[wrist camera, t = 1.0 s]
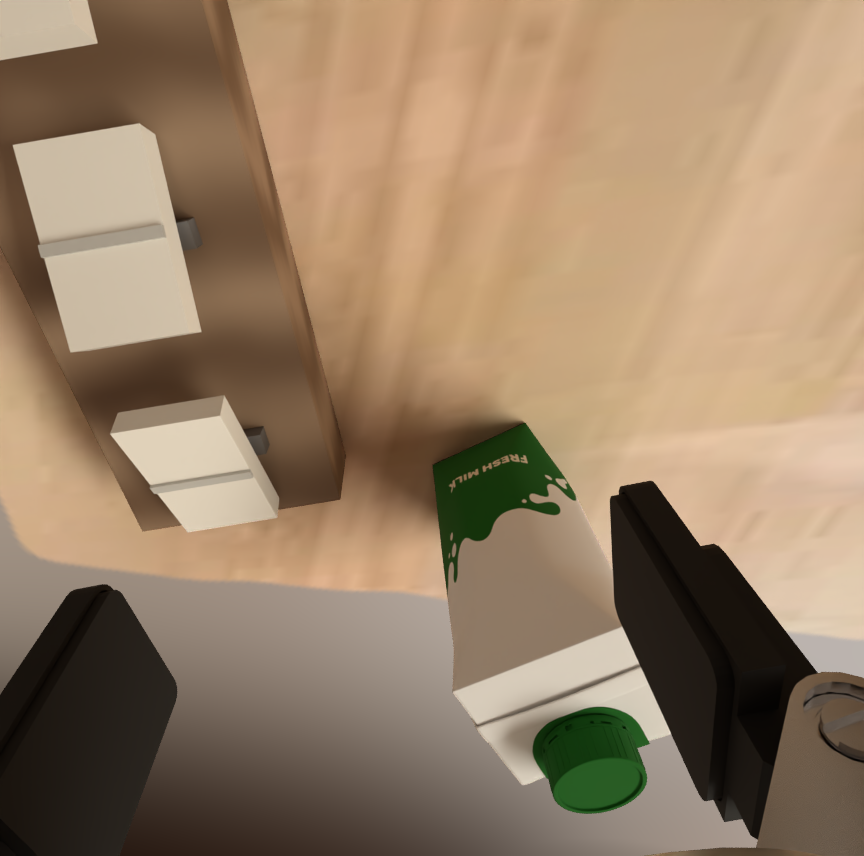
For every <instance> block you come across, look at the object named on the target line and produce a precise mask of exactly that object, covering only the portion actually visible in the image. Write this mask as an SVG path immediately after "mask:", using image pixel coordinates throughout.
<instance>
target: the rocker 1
mask: <svg viewBox="0 0 864 856" xmlns="http://www.w3.org/2000/svg"><path fill="white" fill-rule="evenodd" d="M97 43H98V42H97V38H96V34H95V30H94V26H93V22H92V18H91V14H90V10H89V6H88V2H87V0H0V60H5V59H11V58H17V57H22V56H28V55H34V54H40V53H45V52H51V51H57V50H63V49H69V48H74V47H80V46H86V45H92V44H97Z"/></svg>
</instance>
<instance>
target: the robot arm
mask: <svg viewBox="0 0 864 856" xmlns="http://www.w3.org/2000/svg"><path fill="white" fill-rule="evenodd" d="M610 514H611V539H612V563H613V587H614V603H615V608H616V612H617V615H618V618H619V621H620V623H621V625H622V627H623V629H624V632H625V634H626V636H627V638H628V640H629V642H630V645H631V647H632V649H633V651H634V653H635V656H636V658H637V660H638V662H639V664H640V667H641V669H642V671H643V673H644V675H645V678H646V680H647V682H648V684H649V686H650V688H651V691H652V693H653V695H654V697H655V699H656V702H657V704H658V706H659V708H660V710H661V713H662V715H663V717H664V719H665V721H666V723H667V726H668V728H669V730H670V732H671V734H672V737H673V739H674V741H675V743H676V745H677V747H678V750H679V752H680V754H681V756H682V758H683V761H684V763H685V765H686V767H687V769H688V772H689V774H690V776H691V778H692V780H693V783H694V784H695V787H696V789H697V791H698V793H699V795H700V796H701V798H702V799H703V800H704V801H708V800H714V801H715V804H716V806H717V808H718V810H719V812H720V814H721V816H722V818H723V820H724V822H727V821H733V820H738V819H743V821H744V823H745V825H746V827H747V829H748V831H749V833H750V835H751V836H752V837H754V838H756V839H758V842H757V846H756V848H713V849H702V850H690V851H679V852H668V853H660V854H653V855H646V856H864V678H862V677H858V676H854V675H850V674H846V673H841V672H821V673H817V671H816V670H815V669H814V668H813V666H812V665H811V664H810V662H809V661H808V660H807V658H806V657H805V656H804V655H803V653H802V652H801V651H800V649H799V648H798V647H797V645H796V644H795V643H794V642H793V640H792V639H791V638H790V636H789V635H788V634H787V632H786V631H785V630H784V629H783V627H782V626H781V625H780V623H779V622H778V621H777V620H776V618H775V617H774V616H773V614H772V613H771V612H770V610H769V609H768V608H767V607H766V605H765V604H764V603H763V601H762V600H761V599H760V597H759V596H758V595H757V594H756V592H755V591H754V590H753V588H752V587H751V586H750V584H749V583H748V582H747V581H746V579H745V578H744V577H743V575H742V574H741V573H740V571H739V570H738V569H737V568H736V566H735V565H734V564H733V562H732V561H731V560H730V558H729V557H728V556H727V555H726V553H725V552H724V551H723V550H722V549H721V548H720V547H719V546H717V545H715V544H710V545H705V546H700V545H699V543H698V542H697V541H696V539H695V538H694V537H693V535H692V534H691V532H690V531H689V530H688V528H687V527H686V526H685V524H684V523H683V521H682V520H681V519H680V517H679V516H678V514H677V513H676V512H675V510H674V509H673V508H672V506H671V505H670V503H669V502H668V501H667V499H666V498H665V497H664V495H663V494H662V492H661V491H660V490H659V488H658V487H657V486H656V484H655V483H654V482H653V481H647V482H641V483H636V484H631V485H625V486H621V487H620V489H619V495H615V496H611V498H610ZM176 698H177V686H176V682H175V680H174V678H173V676H172V675H171V673H170V671H169V670H168V668H167V666H166V665H165V663H164V661H163V660H162V658H161V657H160V655H159V653H158V652H157V650H156V648H155V647H154V645H153V644H152V642H151V640H150V639H149V637H148V635H147V634H146V632H145V631H144V629H143V627H142V626H141V624H140V622H139V621H138V619H137V618H136V616H135V614H134V613H133V611H132V609H131V608H130V606H129V605H128V603H127V601H126V599H125V598H124V596H123V595H122V593H121V592H119V591H118V590H113V589H112V588H111V587H110V586H108V585H103V584H102V585H97V586H92V587H86V588H82V589H76V590H73V591H71V592H70V593H69V594H68V595H67V596H66V598H65V599H64V601H63V602H62V604H61V605H60V607H59V608H58V610H57V611H56V613H55V614H54V616H53V617H52V619H51V620H50V622H49V623H48V625H47V626H46V627H45V629H44V630H43V632H42V633H41V635H40V637H39V638H38V639H37V641H36V642H35V644H34V645H33V647H32V648H31V650H30V651H29V653H28V654H27V656H26V657H25V659H24V660H23V662H22V663H21V665H20V666H19V668H18V669H17V671H16V672H15V674H14V675H13V677H12V678H11V680H10V681H9V682H8V684H7V686H6V687H5V688H4V690H3V691H2V693H1V695H0V856H119V855H120V852H121V849H122V847H123V844H124V841H125V839H126V836H127V833H128V830H129V828H130V825H131V822H132V819H133V817H134V814H135V811H136V808H137V806H138V803H139V800H140V798H141V795H142V792H143V789H144V787H145V784H146V781H147V778H148V776H149V773H150V770H151V767H152V765H153V762H154V759H155V757H156V754H157V751H158V748H159V746H160V743H161V740H162V737H163V734H164V732H165V729H166V726H167V723H168V721H169V718H170V715H171V713H172V710H173V707H174V705H175V702H176Z"/></svg>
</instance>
